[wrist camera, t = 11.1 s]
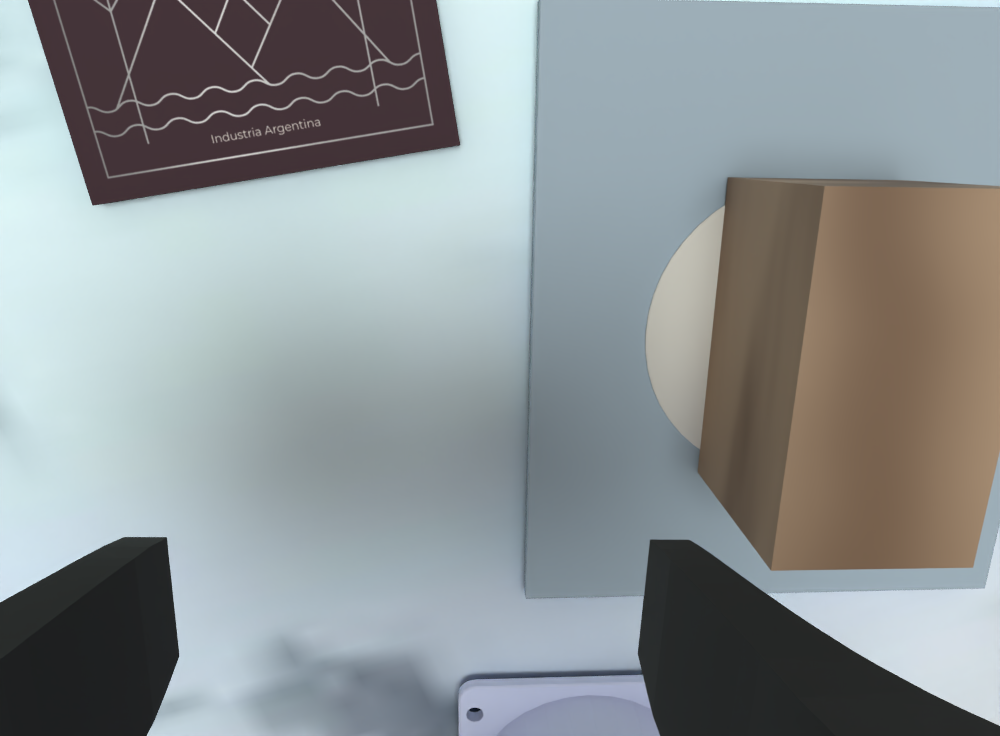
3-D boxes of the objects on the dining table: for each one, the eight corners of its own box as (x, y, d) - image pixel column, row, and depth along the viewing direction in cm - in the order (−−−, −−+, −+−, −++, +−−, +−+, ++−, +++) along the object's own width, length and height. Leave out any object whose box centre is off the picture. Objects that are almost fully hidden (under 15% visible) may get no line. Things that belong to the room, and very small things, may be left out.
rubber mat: (973, 579, 23) (987, 590, 22) (524, 588, 22) (526, 600, 21) (1100, 14, 18) (1121, 9, 17) (538, 1, 17) (540, -4, 17)
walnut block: (902, 180, 18) (1059, 189, 14) (853, 471, 21) (973, 567, 16) (728, 177, 18) (824, 185, 13) (697, 472, 20) (770, 571, 16)
